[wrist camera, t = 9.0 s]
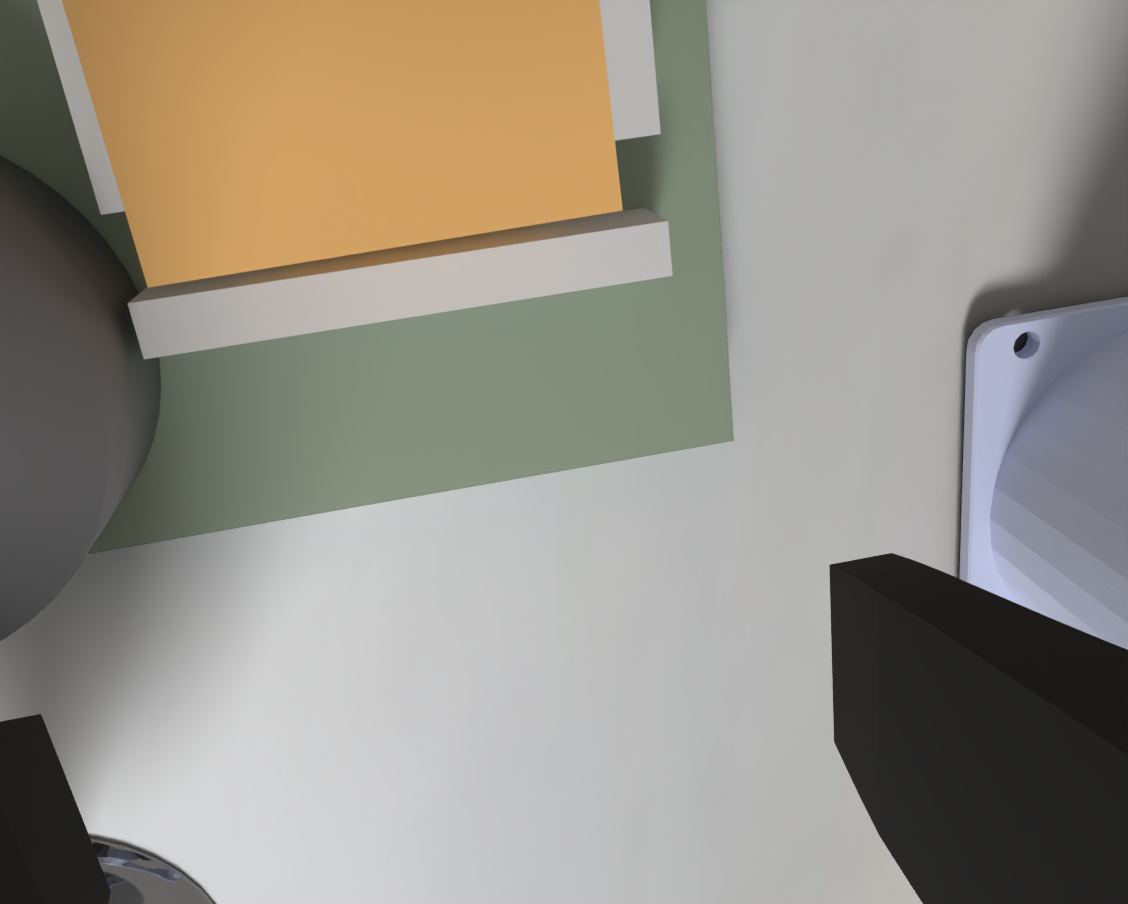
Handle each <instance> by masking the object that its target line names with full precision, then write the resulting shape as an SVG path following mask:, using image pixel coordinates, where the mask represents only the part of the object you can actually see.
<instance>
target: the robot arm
mask: <svg viewBox="0 0 1128 904" xmlns="http://www.w3.org/2000/svg"><path fill="white" fill-rule="evenodd" d="M1025 332H1027V336H1028V339H1027V342H1026V345H1025V346H1024V347H1023V348H1022V349H1021V351H1018V352H1016V353H1014V348H1013V347H1014V344H1015V340H1016V339H1017V338H1018V337H1019V336H1020V335H1021V334H1023V333H1025ZM830 597H831V636H832V674H833V712H834V742H835V744H836V747H837V749H838V751H839V753H840V755H841V757H842V759H843V761H844V764H845V766H846V768H847V770H848V772H849V774H850V776H851V779H852V781H853V783H854V785H855V787H856V789H857V791H858V794H859V796H860V798H861V800H862V802H863V804H864V806H865V808H866V810H867V812H868V814H869V816H870V818H871V820H872V822H873V824H874V826H875V828H876V830H877V832H878V834H879V835H880V837H881V839H882V840H883V842H884V843H885V845H886V847H887V848H888V850H889V851H890V853H891V855H892V856H893V858H894V859H895V861H896V862H897V864H898V866H899V867H900V869H901V870H902V872H903V873H904V875H905V876H906V878H907V879H908V881H909V883H910V884H911V886H912V887H913V889H914V890H915V892H916V893H917V895H918V897H919V898H920V900H921V901H922V903H923V904H1128V297H1122V298H1116V299H1110V300H1104V301H1098V302H1092V303H1086V304H1080V305H1074V306H1068V307H1062V308H1056V309H1050V310H1044V311H1038V312H1032V313H1026V314H1020V315H1014V316H1009V317H1003V318H997V319H992V320H989V321H986V322H983V323H982V324H981V325H980V326H978V327H977V328H976V329H975V330H974V331H973V333H972V335H971V336H970V338H969V340H968V345H967V352H966V385H965V418H964V450H963V483H962V516H961V549H960V579H958V578H956V577H954V576H951V575H949V574H946V573H944V572H942V571H939V570H937V569H934V568H932V567H929V566H927V565H924V564H922V563H919V562H916V561H913V560H911V559H908V558H905V557H902V556H899V555H896V554H892V553H890V554H885V555H879V556H874V557H869V558H863V559H858V560H853V561H848V562H842V563H837V564H832V565H830ZM110 893H111V890H110V888H109V885H108V883H107V880H106V878H105V875H104V873H103V870H102V868H101V865H100V863H99V860H98V857H97V855H96V852H95V850H94V847H93V845H92V842H91V840H90V837H89V835H88V832H87V830H86V827H85V825H84V822H83V819H82V817H81V814H80V812H79V809H78V807H77V804H76V802H75V799H74V797H73V794H72V792H71V789H70V787H69V784H68V781H67V779H66V776H65V774H64V771H63V769H62V766H61V764H60V761H59V759H58V756H57V754H56V751H55V749H54V746H53V743H52V741H51V738H50V736H49V733H48V731H47V728H46V726H45V723H44V721H43V718H42V716H41V714H39V715H33V716H28V717H23V718H18V719H12V720H7V721H2V722H0V904H109V899H110Z"/></svg>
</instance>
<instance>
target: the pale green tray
mask: <svg viewBox="0 0 1128 904" xmlns="http://www.w3.org/2000/svg"><path fill="white" fill-rule="evenodd" d="M599 2H600V11H601V20H602V29H603V38H604V47H605V56H606V65H607V74H608V83H609V92H610V101H611V110H612V119H613V128H614V137H615V146H616V155H617V164H618V173H619V182H620V191H621V200H622V209H623V211H617V212H611V213H605V214H599V215H592V216H586V217H580V218H574V219H568V220H562V221H555V222H549V223H543V224H537V225H531V226H525V227H518V228H512V229H506V230H500V231H494V232H488V233H482V234H475V235H469V236H463V237H457V238H451V239H445V240H438V241H432V242H426V243H420V244H414V245H408V246H402V247H395V248H389V249H383V250H377V251H371V252H365V253H358V254H352V255H346V256H340V257H334V258H328V259H322V260H315V261H309V262H303V263H297V264H291V265H285V266H278V267H272V268H266V269H260V270H254V271H248V272H241V273H235V274H229V275H223V276H217V277H211V278H205V279H198V280H192V281H186V282H180V283H174V284H168V285H161V286H155V287H149V288H148V287H147V283H146V280H145V277H144V273H143V270H142V267H141V263H140V260H139V257H138V253H137V250H136V246H135V243H134V240H133V236H132V233H131V230H130V226H129V223H128V220H127V216H126V213H125V210H124V206H123V203H122V200H121V196H120V193H119V190H118V186H117V183H116V180H115V176H114V173H113V170H112V166H111V163H110V160H109V156H108V153H107V150H106V146H105V143H104V140H103V136H102V133H101V130H100V126H99V123H98V120H97V116H96V113H95V110H94V106H93V103H92V100H91V96H90V93H89V90H88V86H87V83H86V80H85V76H84V73H83V70H82V66H81V63H80V60H79V56H78V53H77V50H76V46H75V43H74V40H73V36H72V33H71V30H70V26H69V23H68V19H67V16H66V13H65V9H64V6H63V3H62V0H0V641H1V640H3V639H5V638H6V637H7V636H9V635H10V634H12V633H13V632H15V631H16V630H17V629H19V628H20V627H22V626H23V625H25V624H26V623H27V622H29V621H30V620H31V619H33V618H34V617H35V616H36V615H37V614H38V613H39V612H40V611H41V610H42V609H43V608H44V607H45V606H46V605H48V604H49V603H50V602H51V601H52V600H53V599H54V598H55V597H56V595H57V594H58V593H59V592H60V590H61V589H62V588H63V586H64V585H65V584H66V583H67V581H68V580H69V579H70V578H71V576H72V575H73V574H74V572H75V571H76V569H77V568H78V566H79V565H80V563H81V562H82V560H83V559H84V557H85V556H86V554H90V553H96V552H102V551H107V550H113V549H119V548H124V547H130V546H136V545H141V544H147V543H153V542H159V541H164V540H170V539H176V538H181V537H187V536H193V535H199V534H204V533H210V532H216V531H221V530H227V529H233V528H238V527H244V526H250V525H256V524H261V523H267V522H273V521H278V520H284V519H290V518H296V517H301V516H307V515H313V514H318V513H324V512H330V511H335V510H341V509H347V508H353V507H358V506H364V505H370V504H375V503H381V502H387V501H393V500H398V499H404V498H410V497H415V496H421V495H427V494H433V493H438V492H444V491H450V490H455V489H461V488H467V487H472V486H478V485H484V484H490V483H495V482H501V481H507V480H512V479H518V478H524V477H530V476H535V475H541V474H547V473H552V472H558V471H564V470H569V469H575V468H581V467H587V466H592V465H598V464H604V463H609V462H615V461H621V460H627V459H632V458H638V457H644V456H649V455H655V454H661V453H666V452H672V451H678V450H684V449H689V448H695V447H701V446H706V445H712V444H718V443H724V442H729V441H734V436H733V420H732V405H731V389H730V374H729V358H728V343H727V327H726V311H725V296H724V280H723V265H722V249H721V234H720V218H719V203H718V187H717V172H716V156H715V141H714V125H713V109H712V94H711V78H710V63H709V47H708V32H707V16H706V1H705V0H599Z"/></svg>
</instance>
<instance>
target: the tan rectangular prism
mask: <svg viewBox="0 0 1128 904" xmlns="http://www.w3.org/2000/svg"><path fill="white" fill-rule="evenodd" d="M62 3H63V6H64V9H65V13H66V16H67V19H68V23H69V26H70V30H71V33H72V36H73V40H74V43H75V46H76V50H77V53H78V56H79V60H80V63H81V66H82V70H83V73H84V76H85V80H86V83H87V86H88V90H89V93H90V96H91V100H92V103H93V106H94V110H95V113H96V116H97V120H98V123H99V126H100V130H101V133H102V136H103V140H104V143H105V146H106V150H107V153H108V156H109V160H110V163H111V166H112V170H113V173H114V176H115V180H116V183H117V186H118V190H119V193H120V196H121V200H122V203H123V206H124V210H125V213H126V216H127V220H128V223H129V226H130V230H131V233H132V236H133V240H134V243H135V246H136V250H137V253H138V257H139V260H140V263H141V267H142V270H143V273H144V277H145V280H146V283H147V287H148V288H149V287H155V286H161V285H168V284H174V283H180V282H186V281H192V280H198V279H205V278H211V277H217V276H223V275H229V274H235V273H241V272H248V271H254V270H260V269H266V268H272V267H278V266H285V265H291V264H297V263H303V262H309V261H315V260H322V259H328V258H334V257H340V256H346V255H352V254H358V253H365V252H371V251H377V250H383V249H389V248H395V247H402V246H408V245H414V244H420V243H426V242H432V241H438V240H445V239H451V238H457V237H463V236H469V235H475V234H482V233H488V232H494V231H500V230H506V229H512V228H518V227H525V226H531V225H537V224H543V223H549V222H555V221H562V220H568V219H574V218H580V217H586V216H592V215H599V214H605V213H611V212H617V211H623V209H622V200H621V191H620V182H619V173H618V164H617V155H616V146H615V137H614V128H613V119H612V110H611V101H610V92H609V83H608V74H607V65H606V56H605V47H604V38H603V29H602V20H601V11H600V2H599V0H62Z"/></svg>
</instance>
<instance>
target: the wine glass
mask: <svg viewBox="0 0 1128 904" xmlns="http://www.w3.org/2000/svg"><path fill="white" fill-rule="evenodd" d="M90 840H91V842H92V845H93V847H94V850H95V852H96V855H97V857H98V860H99V863H100V865H101V868H102V870H103V873H104V875H105V878H106V880H107V883H108V885H109V888H110V890H111V893H110V899H109V904H214V903H213V902H212V901H211V900H210V898H209V897H208V896H207V895H206V894H205V892H204V891H203V890H202V889H201V888H200V887H199V886H198V885H196V884H195V883H194V882H193V881H192V880H190V879H189V878H188V877H187V876H185V875H184V874H183V873H182V872H181V871H179V870H177V869H176V868H174V867H172V866H170V865H169V864H167V863H165V862H163V861H162V860H160V859H158V858H156V857H155V856H152V855H149V854H147V853H144V852H142V851H139V850H136V849H134V848H131V847H129V846H126V845H122V844H118V843H113V842H109V841H105V840H101V839H96V838H90Z"/></svg>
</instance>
